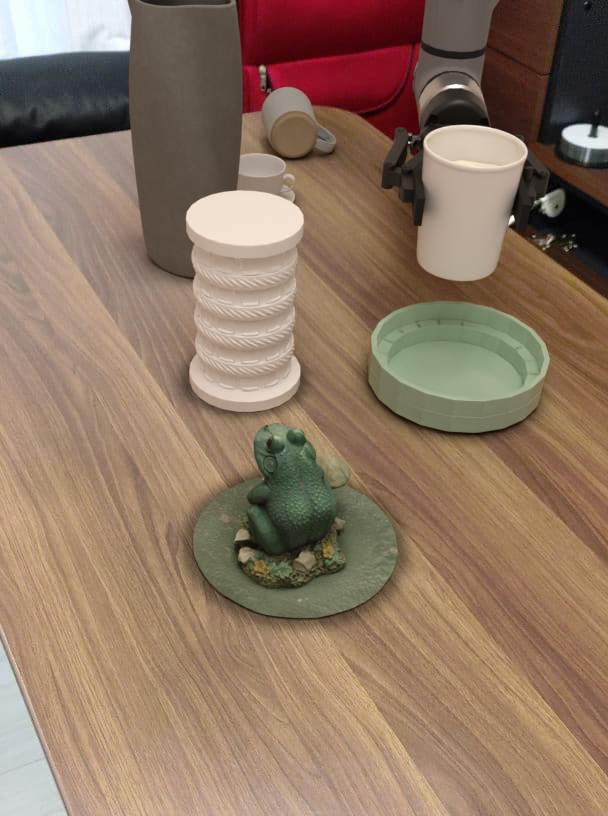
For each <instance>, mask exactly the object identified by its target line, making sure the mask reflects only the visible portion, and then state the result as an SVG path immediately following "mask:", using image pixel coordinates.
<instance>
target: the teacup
mask: <svg viewBox="0 0 608 816" xmlns="http://www.w3.org/2000/svg"><path fill="white" fill-rule="evenodd" d="M286 172H287V164H286V162H285V161H284V160H283V159H282V158H281V157H278V156H276V155H273V154H268V153H263V152H262V153H259V152H253V153H245V154H240V163H239V173H238V183H237V191H238V190H240V191H257V192H264V193H269V194H273V195H276V196H280V197H282V198H284V199H286V200H289V201H291V202H292V203H294V201H295V199H296V194H295V192H294V190H293V189H294V188H295V185H296V177H295V176H294V175H293V174H291V173H286ZM286 180H290V181H291V186H288V185H286V184H284V183H285V181H286Z"/></svg>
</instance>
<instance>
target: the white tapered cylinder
mask: <svg viewBox="0 0 608 816" xmlns="http://www.w3.org/2000/svg"><path fill="white" fill-rule="evenodd" d="M513 135H514V134H511V133H509V132H507V131H503V130H501V129H498V128H493V127H491V128H490V127H484V126H476V125H453V126H446V127H442V128H439V129H436V130H434V131H432V132H430V133H429V134H428V135H427V136H426V137H425V139H424V142H423V148H424V151H423V166H422V181H423V186H424V194H425V204H424V212H423V219H422V226H417V238H416V239H417V240H416V260H417V263H418V265H419V266H420V267H421V268H422V269H423V270H424V271H426V272H427V273H429V274H431V275H433V276H435V277H438V278H441V279H444V280H449V281H453V282H454V281H456V282H472V281H479V280H482V279H485V278H488V276H491V275H492V274H493V273H494V272H495V271H496V269H497V267H498V264H499V262H500V261H499V260H500V257H501V253H502V250H503V247H504V243H505V239H506V236H507V231H508V228H509V223H510V220H511V216H512V214H513V212H512V209H513V205H514V201H515V197H516V194H517V190H518V186H519V182H520V178H521V175H522V171H523V167H524V163H525V160H526V158H527V155H528V150H527V147H528V146H527V145H526V144H525V142H524V143H523V142H522V141H521V140H520V139H518V138H517V137H515V136H513ZM526 146H527V147H526Z"/></svg>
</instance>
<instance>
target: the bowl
mask: <svg viewBox="0 0 608 816" xmlns="http://www.w3.org/2000/svg"><path fill="white" fill-rule="evenodd" d="M550 363H551V359H550V355H549V352H548V348H547V344H546V343H545V342H544V340H543V339H542V337H540V336H539V334H538V333H537V332H536V331H535V329H533V328H532V327H530V326H529V325H527V324H526V323H524V322H523V321H522V320H520V319H518V318H517V317H515V316H513V315H511V314H508V313H505V312H503V311H501V310H498V309H496V308H495V307H494V308H493V307H491V306H487V305H481V304H477V303H472V302H467V301H454V300H434V301H426V302H418V303H413V304H410V305H406V306H404V307H401V308H398V309H395V310H393V311H391V313H389V314H388V315H386V316H385V317H384V318H382V319H381V320H379V322H378V323H377V324H376V325H375V328H374V329H373V331H372V334H371V335H370V343H369V353H368V361H367V378H368V381H367V382H368V384H369V386H370V387H371V390H372V391H373V393H374V394H375V396H376V397H377V399H378V400H379V401H380V402H382V404H384V405H385V406H386V407H388V409H390V410H391V411H392V412H393V413H395V414H396V415H398V416H401V417H403V418H405V419H407V420H409V421H411V422H413V423H416V424H418V425H420V426H423V427H427V428H431V429H436V430H440V431H444V432H449V433H451V432H452V433H473V434H476V433H477V434H478V433H484V432H485V433H486V432H492V431H498V430H502V429H503V430H504V429H506V428H508V427H510V426H512V425H515V424H517V423H519V422H522V421H524V420H525V419H526V418H527V417H528V416H529V415H530V414H531V413H532V412H534V410H535V409H537V407H538V406H539V403H540V400H541V396H542V392H543V389H544V385H545V383H546V378H547V375H548V370H549V368H550Z"/></svg>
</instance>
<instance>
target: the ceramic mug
mask: <svg viewBox="0 0 608 816" xmlns="http://www.w3.org/2000/svg"><path fill="white" fill-rule="evenodd" d="M260 114H261V115H260V117H261V122H262V125H263V128H264V130H265V134H266V135H267V139H268V142H269V144H270V146H271V147H272V148H273V150H274V151H275V152H276V153H278V154H279V155H280V156H282V157H284V158H287V159H297V158H301V157H304V156H305V155H307V154H308V153H309V152H311V151H312V149H315V150H317V151H319V152H322V153H326V154H328V153H329V154H330V153H331V152H333V150H334V148H335V146H336V145H337V139H336V137H335V136H334V134H333V133H331V132H330V131H329V130H328V129H327V128H325V126H322V125H321V124H320V123H318V122H317V119H316V117H315V112H314V109H313V105H312V103H311V101H310V99H309V97H308V96H307V95H306V93H304V92H303V91H302V90H300V89H298V88H296V87H292V86H285V87H280V88H276V89H275V90H273V91H272V92H270V93H269V95H267V97H265V100H264V102H263V104H262V107H261V112H260Z"/></svg>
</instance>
